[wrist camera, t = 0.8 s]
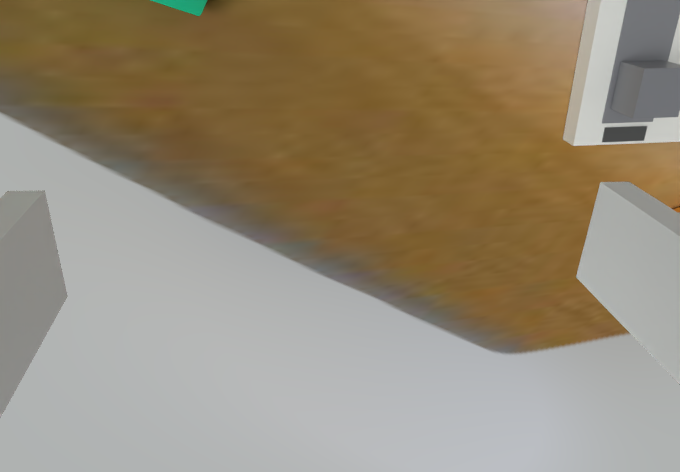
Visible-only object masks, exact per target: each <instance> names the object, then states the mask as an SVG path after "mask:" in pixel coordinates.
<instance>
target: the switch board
mask: <svg viewBox="0 0 680 472" xmlns="http://www.w3.org/2000/svg"><path fill="white" fill-rule="evenodd" d="M626 61H668V62H672V63H676V64H680V0H588V3H587V8H586V14H585V19H584V25H583V30H582V36H581V41H580V47H579V52H578V58H577V63H576V69H575V74H574V80H573V85H572V91H571V97H570V102H569V108H568V113H567V119H566V124H565V130H564V135H563V140H565V141H566V142H568V143H569V144H571V145H573V146H582V145H607V144H632V143H657V142H680V111H679V115H678V117H666V118H637V119H633V118H630V117H628V116H626V115H623V114H621V113H619V112H617V111H614V110H612V109H611V105H612V100H613V95H614V91H615V86H616V81H617V77H618V72H619V67H620V63H621V62H626Z"/></svg>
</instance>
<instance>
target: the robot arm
mask: <svg viewBox="0 0 680 472" xmlns="http://www.w3.org/2000/svg"><path fill="white" fill-rule="evenodd" d="M576 278H577V279H578V280H579V281H580V282H581V283H582V284H583V285H584V286H585V287H586V288H587V289H588V290H589V291H590V292H591V293H592V294H593V295H594V296H595V297H596V298H597V299H598V300H599V301H600V302H601V304H602V305H603V306H604V307H605V308H606V309H607V310H608V311H609V312H610V313H611V314H612V315H613V316H614V317H615V318H616V319H617V320H618V321H619V322H620V323H621V324H622V325H623V326H624V327H625V328H626V329H627V331H628V332H629V333H630V334H631V335H632V336H633V337H634V338H635V339H636V340H637V341H638V342H639V343H640V344H641V345H642V346H643V347H644V348H645V349H646V350H647V351H648V352H649V353H650V354H651V355H652V356H653V358H654V359H655V360H656V361H657V362H658V363H659V364H660V365H661V366H662V367H663V368H664V369H665V370H666V371H667V372H668V373H669V374H670V375H671V376H672V377H673V378H674V379H675V380H676V381H677V382H678V384H679V385H680V214H679V213H678V212H676V211H674V210H673V209H671V208H670V207H668V206H667V205H665V204H663V203H662V202H660V201H659V200H657V199H655V198H654V197H652V196H651V195H649V194H648V193H646V192H644V191H643V190H641V189H640V188H638V187H636V186H635V185H633V184H632V183H630V182H600V186H599V190H598V194H597V198H596V202H595V206H594V210H593V213H592V217H591V221H590V225H589V229H588V233H587V237H586V241H585V245H584V248H583V252H582V256H581V260H580V264H579V268H578V272H577V276H576ZM66 298H67V292H66V288H65V283H64V278H63V274H62V269H61V264H60V260H59V255H58V250H57V246H56V241H55V236H54V232H53V227H52V223H51V219H50V214H49V209H48V204H47V200H46V195H45V191H7V192H6V193H5V194H4V195H3V196H2V197H1V198H0V418H1V416H2V414H3V412H4V410H5V408H6V406H7V405H8V403H9V401H10V399H11V398H12V396H13V394H14V392H15V390H16V389H17V387H18V385H19V383H20V381H21V380H22V378H23V376H24V374H25V372H26V370H27V369H28V367H29V365H30V363H31V361H32V359H33V358H34V356H35V354H36V352H37V351H38V349H39V347H40V345H41V343H42V342H43V339H44V338H45V336H46V334H47V332H48V331H49V329H50V327H51V325H52V323H53V322H54V320H55V318H56V316H57V314H58V313H59V311H60V309H61V307H62V305H63V304H64V302H65V300H66Z"/></svg>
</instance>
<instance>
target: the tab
mask: <svg viewBox="0 0 680 472" xmlns="http://www.w3.org/2000/svg"><path fill="white" fill-rule="evenodd" d="M611 109H612V110H614V111H617V112H619V113H621V114H623V115H626V116H628V117H630V118H633V119H637V118H666V117H678V115H679V111H680V64H676V63H672V62H668V61H626V62H621V63H620V67H619V72H618V77H617V81H616V86H615V91H614V95H613V100H612V105H611Z"/></svg>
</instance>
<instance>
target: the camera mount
mask: <svg viewBox="0 0 680 472" xmlns="http://www.w3.org/2000/svg"><path fill="white" fill-rule="evenodd" d="M151 1H154V2H157V3H160V4H163V5H166V6H169V7H172V8H175V9H178V10H181V11H184V12H188V13H191V14H194V15H197V16H200V15H201V14H202V12H203V9H204V7H205V5H206V3H207V0H151Z"/></svg>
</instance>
